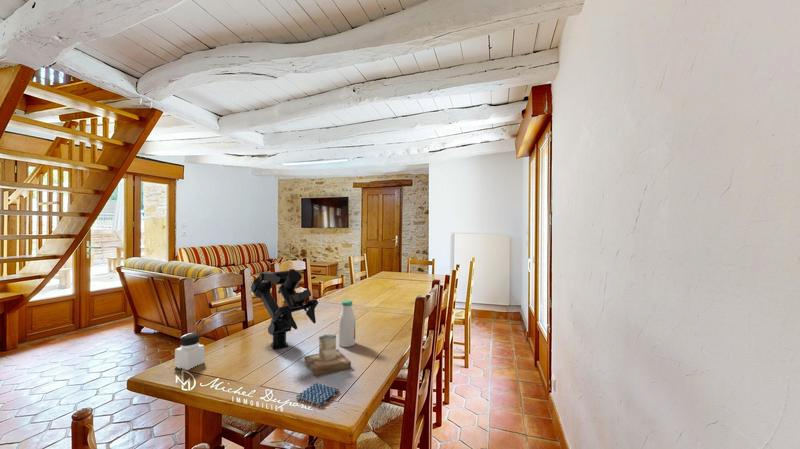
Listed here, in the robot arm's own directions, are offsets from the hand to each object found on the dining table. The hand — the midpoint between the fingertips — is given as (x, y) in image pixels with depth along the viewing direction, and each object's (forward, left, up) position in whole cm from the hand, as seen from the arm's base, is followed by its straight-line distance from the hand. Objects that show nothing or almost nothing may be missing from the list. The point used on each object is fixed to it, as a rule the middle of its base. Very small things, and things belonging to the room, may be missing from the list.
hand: (306, 325), depth 132 cm
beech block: (+11, +5, -11) cm, 16 cm away
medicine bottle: (-17, -41, -14) cm, 46 cm away
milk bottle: (-5, +20, -14) cm, 25 cm away
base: (+11, +5, -14) cm, 18 cm away
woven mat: (+31, -4, -14) cm, 34 cm away
